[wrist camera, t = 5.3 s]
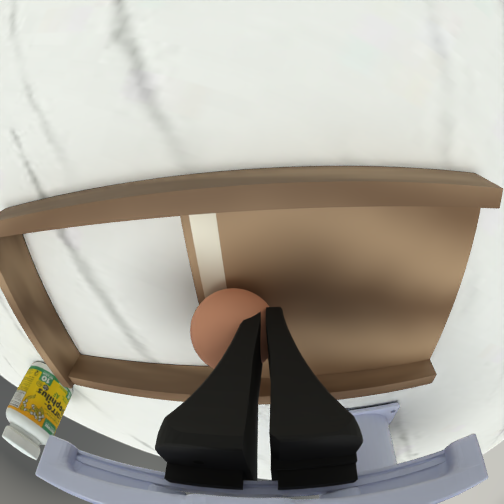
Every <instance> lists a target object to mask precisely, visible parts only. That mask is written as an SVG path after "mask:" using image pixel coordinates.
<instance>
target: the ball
mask: <svg viewBox="0 0 504 504" xmlns="http://www.w3.org/2000/svg"><path fill="white" fill-rule="evenodd" d="M266 307H269V305H268V304H267V303H266V302H265V301H264V300H263V299H262V298H261V297H259V296H258V295H256V294H254V293H252V292H250V291H247V290H244V289H238V288H229V289H223V290H220V291H217V292H215V293H213V294H211V295H210V296H208V297H206V298H205V299H204V300H203V301H202V302H201V303H200V305H199V306H198V307H197V309H196V310H195V313H194V315H193V317H192V321H191V328H190V334H191V340H192V344H193V347H194V349H195V351H196V353H197V354H198V356H199V357H200V358H201V359H202V360H203V361H204V362H205V363H206V364H207V365H208V366H210V367H211V368H213V369H214V368H215V367H216V366H217V364H218V363H219V361H220V360H221V358H222V357H223V355H224V354H225V352H226V350H227V349H228V347H229V345H230V344H231V342H232V340H233V338H234V336H235V334H236V332H237V330H238V328H239V325H240V324H241V322H242V321H243V320H245V319H248V318H250V317H252V316H254V315H256V314H257V313H259V312H260V311H261V336H260V352H261V361H262V363H264V362H265V361H266V359H267V358H268V345H267V333H266Z"/></svg>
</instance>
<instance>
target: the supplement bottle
mask: <svg viewBox="0 0 504 504" xmlns="http://www.w3.org/2000/svg"><path fill="white" fill-rule="evenodd" d="M72 392H73V391H72V389H71V388H67V387H63V386H62V384H61V383H60V382H59V381H58V379H57V378H56V377H55V375H54V374H53V373H52V371H51V370H50V369H49V367H48V366H47V364H44V363H42V362H34V363H33V364H32V365H31V367H30V368H29V370H28V371H27V373H26V375H25V376H24V378H23V380H22V382H21V384H20V385H19V387H18V389H17V391H16V392H15V394H14V396H13V398H12V400H11V402H10V404H9V406H8V408H7V410H6V416H7V419H8V421H9V422H10V426H7V427H5V430H4V432H3V434H2V437H3V438H4V439H5V440H6V441H8V442H9V443H10V444H11V445H12V446H14V447H15V448H17V449H18V450H19V451H21V452H23V453H24V454H26V455H27V456H29V457H31V458H33V459H35V460H37V458H38V456H39V454H40V448H39V445H40V444H42V445H46V443H47V440H48V438H49V435H53V436H54V434H55V432H56V429H57V427H58V425H59V422H60V420H61V418H62V415H63V413H64V411H65V409H66V407H67V404H68V402H69V400H70V398H71V395H72Z"/></svg>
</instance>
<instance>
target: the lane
mask: <svg viewBox="0 0 504 504" xmlns="http://www.w3.org/2000/svg"><path fill="white" fill-rule="evenodd" d="M502 192H503V188H501V187H499V186H498V185H496V184H494V183H492V182H490V181H489V180H487V179H485V178H483V177H481V176H479V175H477V174H475V173H469V172H459V171H449V170H437V169H422V168H405V167H378V166H306V167H279V168H260V169H245V170H231V171H219V172H209V173H199V174H189V175H180V176H172V177H164V178H156V179H149V180H142V181H135V182H129V183H123V184H117V185H111V186H105V187H99V188H94V189H88V190H83V191H78V192H73V193H68V194H64V195H59V196H54V197H50V198H45V199H41V200H37V201H33V202H29V203H25V204H21V205H17V206H13V207H9V208H6V209H4V210H2V211H1V212H0V287H1V289H2V291H3V293H4V295H5V297H6V299H7V301H8V303H9V305H10V307H11V309H12V310H13V312H14V314H15V316H16V318H17V319H18V321H19V323H20V324H21V326H22V328H23V329H24V331H25V333H26V334H27V336H28V338H29V339H30V341H31V342H32V344H33V345H34V347H35V348H36V350H37V351H38V353H39V354H40V356H41V357H42V359H43V360H44V362H45V363H46V364H47V366H48V367H49V369H50V370H51V371H52V373H53V374H54V375H55V377H56V378H57V379H58V381H59V382H60V383H61V384H62V386H63V387H67V388H71V389H72V387H73V385H74V384H76V385H80V386H84V387H89V388H94V389H98V390H103V391H109V392H114V393H120V394H126V395H132V396H139V397H146V398H154V399H162V400H171V401H182V402H185V401H186V400H187V399H188V398H189V397H190V396H191V395H192V394H193V393H194V392H195V391H196V390H197V389H198V388H199V387H200V386H201V384H202V383H203V382H204V381H205V380H206V379H207V377H208V376H209V375H210V374H211V372H212V371H213V370H214V369H213V368H211V367H210V366H185V365H168V364H155V363H144V362H134V361H124V360H116V359H108V358H101V357H94V356H87V355H81V354H80V353H79V352H78V350H77V348H76V347H75V345H74V343H73V342H72V340H71V338H70V337H69V335H68V333H67V331H66V330H65V328H64V326H63V324H62V322H61V320H60V319H59V317H58V315H57V313H56V311H55V309H54V307H53V305H52V303H51V301H50V299H49V297H48V295H47V293H46V291H45V289H44V287H43V284H42V282H41V280H40V278H39V275H38V273H37V271H36V268H35V266H34V264H33V261H32V259H31V256H30V254H29V251H28V249H27V246H26V243H25V241H24V238H23V235H22V234H25V233H32V232H39V231H46V230H53V229H61V228H68V227H76V226H84V225H93V224H101V223H110V222H120V221H129V220H139V219H150V218H160V217H172V216H180V217H181V222H182V227H183V232H184V238H185V243H186V247H187V252H188V257H189V262H190V267H191V271H192V276H193V280H194V285H195V289H196V294H197V298H198V302H199V305H200V303H201V302H202V301H203V300H204V299H205V298H206V297H208V296H210V295H211V294H213V293H215V292H217V291H220V290H223V289H229V288H238V289H244V290H247V291H250V292H252V293H254V294H256V295H258V296H259V297H261V298H262V299H263V300H264V301H265V302H266V303H267V304H268V305H269V307H281V308H282V310H283V315H284V318H285V321H286V324H287V326H288V329H289V331H290V334H291V336H292V338H293V340H294V342H295V344H296V346H297V348H298V350H299V351H300V353H301V355H302V356H303V358H304V360H305V361H306V363H307V364H308V366H309V367H310V369H311V370H312V372H313V373H314V374H315V376H316V377H317V378H318V380H319V381H320V382H321V383H322V384H323V386H324V387H325V388H326V389H327V390H328V391H329V393H330V394H331V395H332V396H333V397H334V398H335V399H336V400H339V399H347V398H355V397H362V396H369V395H375V394H381V393H387V392H392V391H398V390H403V389H408V388H412V387H417V386H421V385H425V384H430V383H432V382H433V380H434V378H435V376H436V372H435V370H434V368H433V365H432V363H431V361H430V357H431V355H432V353H433V351H434V349H435V347H436V345H437V343H438V340H439V338H440V336H441V334H442V331H443V329H444V327H445V324H446V322H447V319H448V317H449V314H450V312H451V309H452V307H453V304H454V301H455V299H456V296H457V293H458V290H459V287H460V284H461V281H462V278H463V275H464V272H465V269H466V265H467V262H468V258H469V255H470V251H471V248H472V244H473V240H474V236H475V232H476V227H477V223H478V218H479V213H480V208H500V203H501V198H502ZM270 392H271V382H270V372H269V363H268V358H267V359H266V361H265V362H264V363H263V366H262V375H261V383H260V392H259V401H258V404H270Z"/></svg>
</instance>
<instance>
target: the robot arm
mask: <svg viewBox="0 0 504 504" xmlns="http://www.w3.org/2000/svg"><path fill="white" fill-rule="evenodd" d="M266 333H267V345H268V363H269V372H270V382H271V392H270V432H269V434H270V448H271V475H272V481H257V442H258V401H259V392H260V383H261V375H262V366H263V363H262V361H261V352H260V336H261V311H260V312H259V313H257V314H256V315H254V316H252V317H250V318H248V319H245V320H243V321H242V322H241V324H240V325H239V328H238V330H237V332H236V334H235V336H234V338H233V340H232V342H231V344H230V345H229V347H228V349H227V350H226V352H225V354H224V355H223V357H222V358H221V360H220V361H219V363H218V364H217V366H216V367H215V368H214V370H213V371H212V372H211V374H210V375H209V376H208V377H207V379H206V380H205V381H204V382H203V383H202V384H201V386H200V387H199V388H198V389H197V390H196V391H195V392H194V393H193V394H192V395H191V396H190V397H189V398H188V399H187V400H186V401H185V402H183V403H182V404H181V405H180V406H179V407H177V408H176V409H175V410H174V411H173V412H171V413H170V414H169V415H167V416H166V417H165V418H164V420H163V422H162V425H161V427H160V430H159V432H158V436H157V441H156V445H155V450H156V451H157V453H158V454H159V455H160V456H161V457H162V458H163V459H164V460H165V461H166V462H167V467H166V472H161V471H155V470H150V469H145V468H141V467H137V466H132V465H128V464H124V463H120V462H117V461H113V460H110V459H106V458H102V457H99V456H96V455H93V454H90V453H87V452H84V451H81V450H78V448H77V447H75V446H74V445H73V444H71V443H70V442H68V441H65V440H63V439H60V438H58V437H55V436H53V435H49V438H48V440H47V443H46V445H45V448H44V451H43V453H42V456H41V459H40V462H39V465H38V468H37V471H36V476H38V477H40V478H41V479H43V480H45V481H46V482H48V483H50V484H52V485H54V486H56V487H57V488H59V489H61V490H63V491H65V492H67V493H69V494H72V495H74V496H77V497H79V498H81V499H83V500H86V501H88V502H91V503H93V504H437V503H440V502H442V501H445V500H447V499H450V498H452V497H454V496H456V495H459V494H461V493H463V492H465V491H466V490H468V489H470V488H472V487H474V486H475V485H478V484H479V483H481V482H483V481H484V480H486V479H487V478H488V474H487V470H486V467H485V463H484V459H483V456H482V453H481V449H480V446H479V443H478V440H477V437H476V434H471V435H469V436H467V437H464V438H462V439H459V440H457V441H454V442H453V443H451V444H449V445H448V446H447V447H446V448H445V449H444V450H442V451H439V452H436V453H433V454H430V455H427V456H424V457H421V458H417V459H414V460H410V461H407V462H403V463H399V464H397V461H396V456H395V451H394V447H393V442H392V438H391V434H390V429H389V424H390V422H391V421H392V419H393V418H394V416H395V414H396V413H397V411H398V409H399V408H400V404H399V403H392V404H386V405H381V406H375V407H369V408H363V409H356V410H349V411H348V410H347V409H345V408H344V407H343V406H342V405H341V404H340V403H339V402H338V401H337V400H336V399H335V398H334V397H333V396H332V395H331V394H330V393H329V391H328V390H327V389H326V388H325V387H324V386H323V384H322V383H321V382H320V381H319V380H318V378H317V377H316V376H315V374H314V373H313V372H312V370H311V369H310V367H309V366H308V364H307V363H306V361H305V360H304V358H303V356H302V355H301V353H300V351H299V350H298V348H297V346H296V344H295V342H294V340H293V338H292V336H291V334H290V331H289V329H288V326H287V324H286V321H285V318H284V315H283V310H282V308H281V307H266ZM181 491H183V492H181ZM185 492H190V493H198V494H189V495H186V493H185ZM202 494H206V495H202ZM214 495H217V496H214ZM309 495H319V499H296V500H294V499H287V498H271V497H296V496H309ZM226 496H230V497H226ZM244 497H256V498H244Z"/></svg>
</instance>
